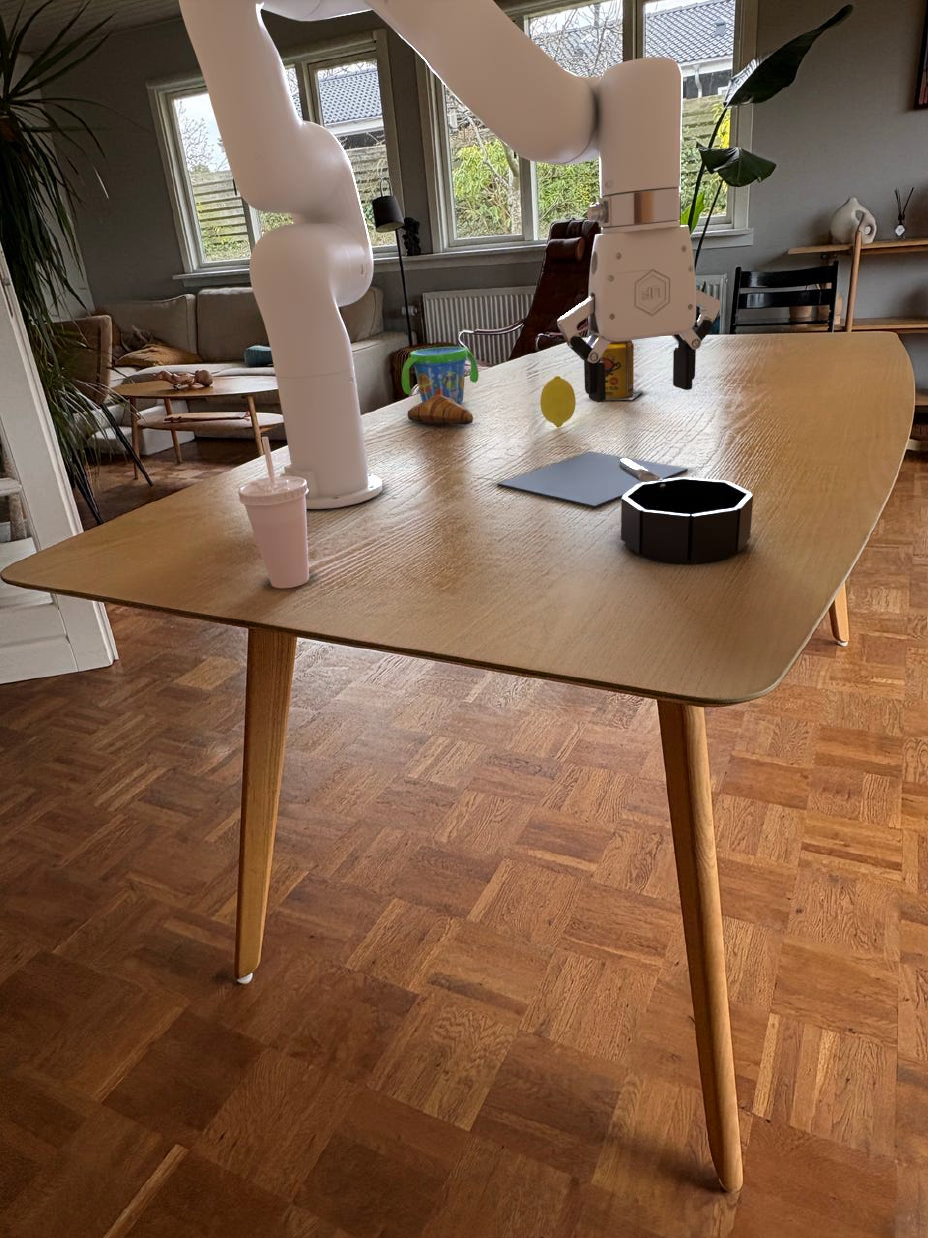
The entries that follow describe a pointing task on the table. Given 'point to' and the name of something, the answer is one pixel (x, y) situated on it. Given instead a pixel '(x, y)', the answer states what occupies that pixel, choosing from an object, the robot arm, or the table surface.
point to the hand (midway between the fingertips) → (640, 393)
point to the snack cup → (440, 372)
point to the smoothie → (279, 524)
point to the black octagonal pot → (684, 517)
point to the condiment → (619, 371)
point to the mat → (586, 479)
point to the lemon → (557, 401)
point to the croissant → (440, 412)
